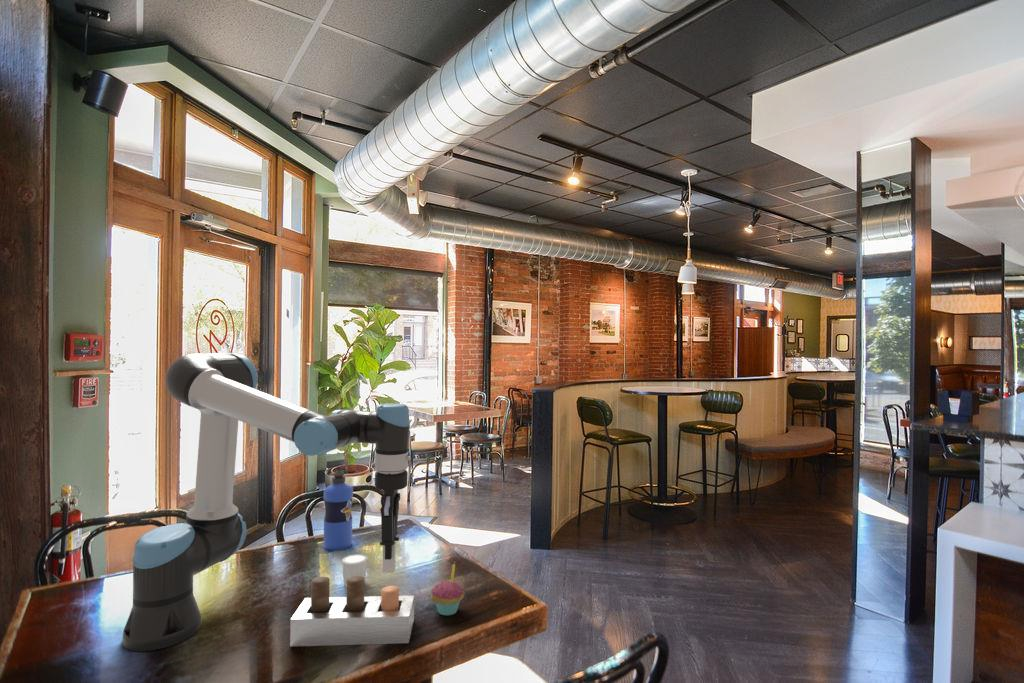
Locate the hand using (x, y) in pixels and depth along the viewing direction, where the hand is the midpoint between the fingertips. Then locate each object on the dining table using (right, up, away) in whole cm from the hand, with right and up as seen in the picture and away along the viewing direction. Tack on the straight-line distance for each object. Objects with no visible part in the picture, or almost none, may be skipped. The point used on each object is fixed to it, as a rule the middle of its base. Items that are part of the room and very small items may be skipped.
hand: (388, 570), depth 124 cm
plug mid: (-8, -9, -1) cm, 12 cm away
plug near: (-16, -9, -1) cm, 18 cm away
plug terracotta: (0, -11, 0) cm, 11 cm away
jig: (-8, -14, -1) cm, 16 cm away
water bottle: (-29, -15, +53) cm, 62 cm away
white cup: (-15, -15, +25) cm, 33 cm away
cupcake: (+13, -15, +10) cm, 22 cm away
